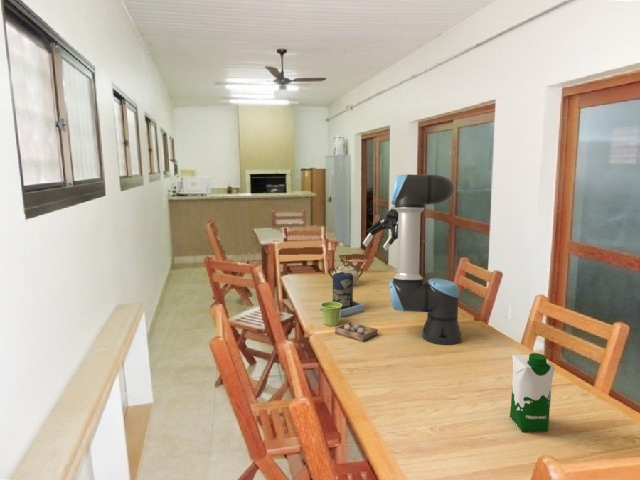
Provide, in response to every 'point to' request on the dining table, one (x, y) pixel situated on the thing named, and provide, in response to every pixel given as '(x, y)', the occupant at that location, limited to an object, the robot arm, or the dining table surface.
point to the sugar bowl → (347, 271)
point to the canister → (343, 289)
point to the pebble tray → (356, 331)
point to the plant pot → (331, 312)
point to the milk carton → (531, 391)
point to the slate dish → (349, 309)
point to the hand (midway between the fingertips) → (374, 246)
